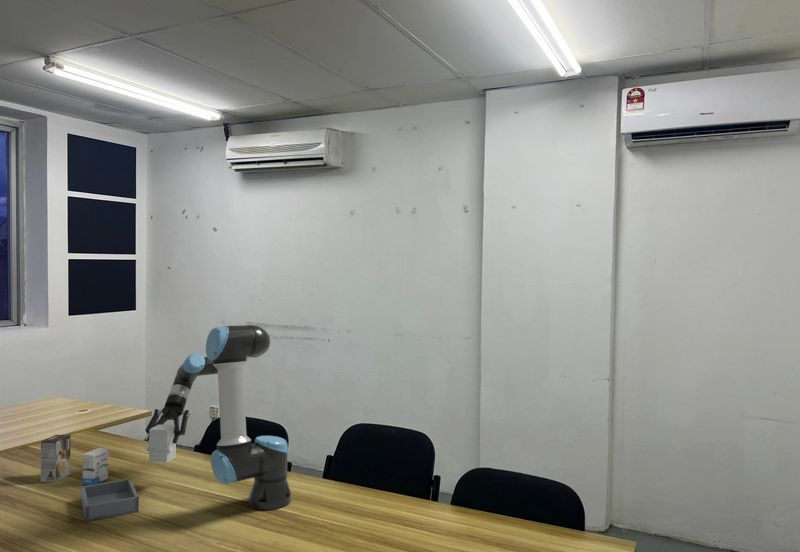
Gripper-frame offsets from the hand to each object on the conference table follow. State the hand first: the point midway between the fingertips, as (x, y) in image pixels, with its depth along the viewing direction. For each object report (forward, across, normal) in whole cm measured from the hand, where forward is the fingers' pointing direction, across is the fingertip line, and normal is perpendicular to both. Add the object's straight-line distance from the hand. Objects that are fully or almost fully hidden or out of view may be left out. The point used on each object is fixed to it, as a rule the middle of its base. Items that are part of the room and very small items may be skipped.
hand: (158, 450), depth 210 cm
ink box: (+6, +28, -15) cm, 32 cm away
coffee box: (+5, +45, -16) cm, 48 cm away
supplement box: (+1, 0, -6) cm, 6 cm away
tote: (+22, +10, 0) cm, 24 cm away
